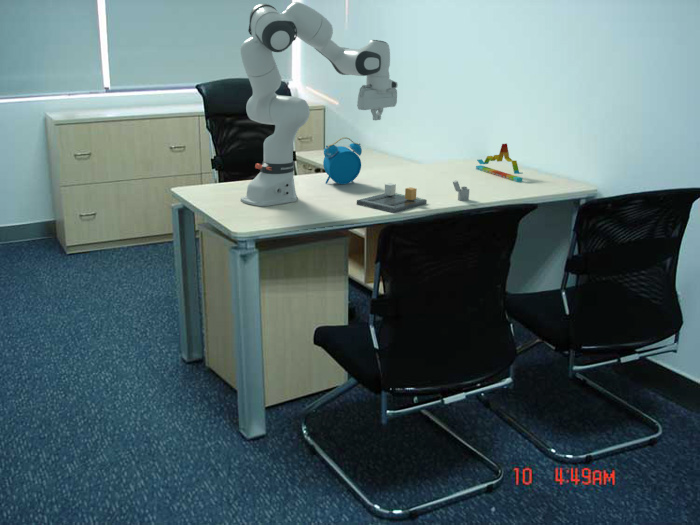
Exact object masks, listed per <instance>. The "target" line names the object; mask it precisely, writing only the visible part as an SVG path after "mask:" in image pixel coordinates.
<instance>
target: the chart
mask: <svg viewBox="0 0 700 525" xmlns="http://www.w3.org/2000/svg"><path fill="white" fill-rule="evenodd" d="M508 148H509V147H508V143H502V144H501V147H500V150H499V154H494V155H487V156H486V158H485V160H484V161H483V159H482V158H481V159H480V158H479V159H476V161H477V162H478V163H479V165H476V166H475V170H478V171H481V172H484V173H485V174H490V175H493V176H495V177H500V178H502V179H506V180H508V181H512V182H515V183H522V182H523V177H520V176H517V175H519V174H523V172H520V170H519V167H518V162H517V160H513V159H511V157H510V154H509V149H508ZM503 158H504V159H505V161H507V162H510V163H511V165H512V169H513V174H511V173H507V172H503V171H501V170H497V169H494V168H491V167H488V166H484V165H487V164H490V163H489V162H495V161H496V162H503Z"/></svg>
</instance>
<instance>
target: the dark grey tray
mask: <svg viewBox="0 0 700 525" xmlns="http://www.w3.org/2000/svg"><path fill="white" fill-rule="evenodd" d="M425 204H427V199H424V198H419V197H416V199H414V200H408V199H405V194H402V193H401V194H400V193H397V192H395V195H391V196H389V195H385V194H384V193H380V194H377V195H376V194H375V195H373V196H368V197H365V198H361V199H356V205H359V206H363V207H367V208H372V209H376V210H380V211H384V212H387V213H388V212H389V213H395V214H396V213H399V212H403V211H405V210H409V209H413V208H416V207H418V206H419V207H420V206H423V205H425Z"/></svg>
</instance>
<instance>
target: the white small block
mask: <svg viewBox="0 0 700 525" xmlns="http://www.w3.org/2000/svg"><path fill="white" fill-rule="evenodd" d="M396 186H397V185H396V183H391V182H390V183H384V193H383V194H385V195H389V196H391V195H395V193H396Z"/></svg>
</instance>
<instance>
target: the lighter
mask: <svg viewBox="0 0 700 525" xmlns="http://www.w3.org/2000/svg"><path fill="white" fill-rule="evenodd" d="M452 184H453V187H454V190H455V192H457V193H458V194H457V201H459V202H464V201H469V200H470V188H468V187H467V186H461V187H460V184H459V181H458V180H453V181H452Z"/></svg>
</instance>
